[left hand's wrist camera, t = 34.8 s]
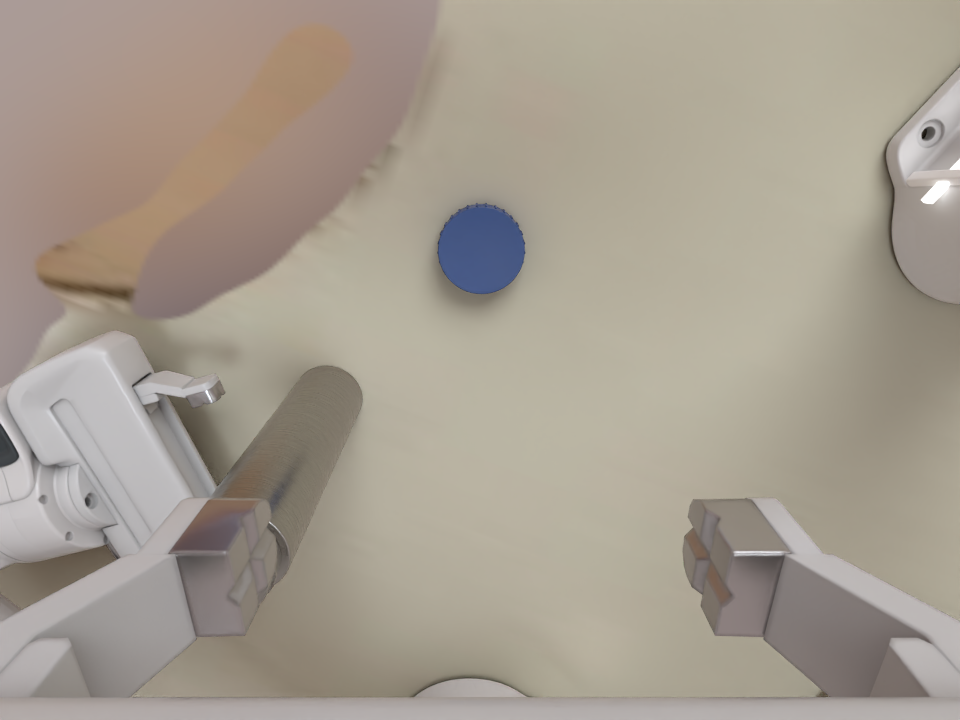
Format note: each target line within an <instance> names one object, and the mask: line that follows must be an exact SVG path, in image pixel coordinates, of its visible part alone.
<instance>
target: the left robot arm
mask: <svg viewBox="0 0 960 720" xmlns="http://www.w3.org/2000/svg"><path fill="white" fill-rule="evenodd" d="M925 128H926V130H927V134H926V136H925V138H924V139H922V137H921V134H922V132H923V130H924V129H925ZM886 161H887V166H888V170H889V174H890V177H891V180H892V183H893V186H894V188H895V200H894V209H893V217H892V243H893V249H894V253H895V256H896V259H897V262H898V264H899V266H900V268H901V270H902V272H903V273H904V275H905V276H906V277H907V279H908V280H909V281H910V282H911V283H912V284H913V285H914V286H915V287H916V288H917V289H919V290H920V291H921V292H923V293H924V294H926V295H928V296H930V297H932V298H934V299H937V300H939V301H943V302H947V303H952V304H960V67H959V68H958V69H957V70H956V71H955V72H954V73H953V74H952V75H951V76H950V77H949V78H948V79H947V80H946V81H945V83H944V84H943V85H942V86H941V87H940V88H939V89H938V90H937V91H936V92H935V93H934V94H933V95H932V96H931V97H930V98H929V100H928V101H927V102H926V103H925V104H924V105H923V106H922V107H921V108H920V109H919V110H918V111H917V112H916V113H915V114H914V115H913V116H912V118H911V119H910V120H909V121H908V122H907V123H906V124H905V125H904V126H903V127H902V128H901V129H900V130H899V131H898V132H897V133H896V135H895V136H894V137H893V138H892V139H891V141H890V143H889V144H888V147H887V150H886ZM271 518H272V514H271V509H270V504H269V502H268V501H267V500H266V499H257V498H186V499H183V500H181V501H180V502H179V504H178V505H177V506H176V507H175V508H174V510H173V511H172V512H171V513H170V514H169V516H168V517H167V518H166V519H165V520H164V521H163V523H162V524H161V525H160V526H159V527H158V529H157V530H156V531H155V532H154V533H153V535H152V536H151V537H150V538H149V539H148V541H147V542H146V543H145V544H144V545H143V546H142V548H141V549H140V550H139V551H138V552H137V554H127V555H125V556H123V557H121V558H119V559H117V560H115V561H114V562H112V563H110V564H108V565H106V566H104V567H102V568H100V569H98V570H96V571H95V572H93V573H91V574H89V575H87V576H85V577H83V578H81V579H79V580H77V581H75V582H74V583H72V584H70V585H68V586H66V587H64V588H62V589H60V590H58V591H56V592H55V593H53V594H51V595H49V596H47V597H45V598H43V599H41V600H39V601H37V602H35V603H34V604H32V605H30V606H28V607H26V608H24V609H22V610H20V611H18V612H16V613H15V614H13V615H11V616H9V617H7V618H5V619H3V620H1V621H0V720H960V621H958V620H957V619H955V618H953V617H951V616H949V615H947V614H945V613H943V612H941V611H939V610H938V609H936V608H934V607H932V606H930V605H928V604H926V603H924V602H922V601H920V600H919V599H917V598H915V597H913V596H911V595H909V594H907V593H905V592H903V591H901V590H900V589H898V588H896V587H894V586H892V585H890V584H888V583H886V582H884V581H882V580H881V579H879V578H877V577H875V576H873V575H871V574H869V573H867V572H865V571H863V570H862V569H860V568H858V567H856V566H854V565H852V564H850V563H848V562H846V561H844V560H843V559H841V558H839V557H837V556H835V555H833V554H823V552H822V551H821V550H820V549H819V548H818V546H817V545H816V544H815V543H814V542H813V541H812V539H811V538H810V537H809V536H808V535H807V533H806V532H805V531H804V530H803V529H802V527H801V526H800V525H799V524H798V523H797V522H796V520H795V519H794V518H793V517H792V516H791V514H790V513H789V512H788V511H787V510H786V509H785V507H784V506H783V505H782V504H781V503H780V501H779V500H777V499H775V498H773V497H761V498H746V499H693V501H692V503H691V505H690V508H689V513H688V518H689V520H690V522H691V524H692V526H693V528H692V529H691V530H690V531H689V532H688V533H687V534H686V535H685V537H684V544H683V561H684V568H685V571H686V575H687V578H688V580H689V582H690V584H691V586H692V588H694V589H695V590H697V591H698V592H699V593H701V594H702V595H703V596H702V601H701V608H702V610H703V612H704V614H705V616H706V618H707V620H708V622H709V624H710V626H711V628H712V630H713V632H714V634H715V636H747V637H764V640H765V641H766V642H767V643H768V644H769V645H771V646H772V647H773V648H774V649H775V650H776V651H778V652H779V653H780V654H781V655H782V656H783V657H784V658H786V659H787V660H788V661H789V662H790V663H791V664H793V665H794V666H795V667H796V668H797V669H798V670H800V671H801V672H802V673H803V674H804V675H805V676H806V677H808V678H809V679H810V680H811V681H812V682H813V683H815V684H816V685H817V686H818V687H819V688H820V689H821V690H823V691H824V692H825V693H826V694H827V695H828V696H830V697H131V696H132V695H133V694H134V693H135V692H136V691H138V690H139V689H140V688H141V687H142V686H143V685H144V684H146V683H147V682H148V681H149V680H150V679H151V678H153V677H154V676H155V675H156V674H157V673H158V672H160V671H161V670H162V669H163V668H164V667H165V666H166V665H168V664H169V663H170V662H171V661H172V660H173V659H175V658H176V657H177V656H178V655H179V654H180V653H182V652H183V651H184V650H185V649H186V648H187V647H188V646H190V645H191V644H192V643H193V642H194V641H195V640H196V637H212V636H245V634H246V632H247V630H248V628H249V626H250V624H251V622H252V620H253V618H254V616H255V614H256V612H257V610H258V608H259V601H258V596H257V595H258V594H259V593H261V592H262V591H263V590H265V589H266V588H268V586H269V584H270V582H271V580H272V578H273V575H274V571H275V566H276V562H277V543H276V537H275V535H274V534H273V533H272V532H271V531H270V530H269V529H268V528H267V526H268V524H269V522H270V520H271Z"/></svg>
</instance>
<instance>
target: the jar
mask: <svg viewBox="0 0 960 720" xmlns="http://www.w3.org/2000/svg"><path fill="white" fill-rule="evenodd" d="M361 406H362V393H361V389H360V387H359V385H358V383H357V382H356V380H355V379H354V378H353V377H352V376H351V375H350V374H348V373H347V372H345V371H343V370H341V369H339V368H336V367H331V366H321V367H316V368H313V369H311V370H309V371H307V372H306V373H305V374H304V375H303V376H302V377H301V378H300V379H299V381H298V382H297V383H296V385H295V386H294V387H293V388H292V390H291V391H290V392H289V394H288V395H287V396H286V398H285V399H284V400H283V402H282V403H281V404H280V406H279V407H278V408H277V409H276V411H275V412H274V413H273V415H272V416H271V417H270V419H269V420H268V421H267V423H266V424H265V425H264V427H263V428H262V429H261V430H260V432H259V433H258V434H257V436H256V437H255V438H254V440H253V441H252V442H251V444H250V445H249V446H248V448H247V449H246V450H245V452H244V453H243V454H242V455H241V457H240V458H239V459H238V461H237V462H236V463H235V465H234V466H233V467H232V469H231V470H230V471H229V473H228V474H227V475H226V476H225V478H224V479H223V480H222V482H221V483H220V484H219V486H218V487H217V488H216V490H215V491H214V492H213V494H212V495H211V496H210V497H209V498H257V499H266V500H267V501H268V502H269V504H270V509H271V514H272V518H271V520H270V522H269V524H268V526H267V528H268V529H269V530H270V531H271V532H272V533H273V534H274V535H275V537H276V543H277V562H276V566H275V571H274V575H273V578H272V580H271V582H270V584H269V586H268V588H266V589H265V590H263V591H262V592H261V593H259V594H258V595H257V596H258V601H259V604H260V603H261V602H262V601H263V600H264V598H265V597H266V595H267V593H269V592H270V590H271V589H272V587H273V585H275V584H276V583H278V582H279V581H280V580H281V579H282V578H283V577H284V576H285V574H286V573H287V571H288V569H289V567H290V565H291V562H292V560H293V558H294V556H295V554H296V551H297V549H298V547H299V545H300V542H301V540H302V538H303V536H304V533H305V531H306V529H307V527H308V525H309V522H310V520H311V518H312V516H313V513H314V511H315V509H316V507H317V505H318V502H319V500H320V498H321V496H322V493H323V491H324V489H325V487H326V485H327V482H328V480H329V478H330V476H331V473H332V471H333V469H334V467H335V464H336V462H337V460H338V458H339V456H340V453H341V451H342V449H343V447H344V444H345V442H346V440H347V438H348V436H349V433H350V431H351V429H352V427H353V424H354V422H355V420H356V418H357V416H358V413H359V411H360V409H361Z"/></svg>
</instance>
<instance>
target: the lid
mask: <svg viewBox="0 0 960 720" xmlns="http://www.w3.org/2000/svg"><path fill="white" fill-rule="evenodd" d="M444 226H445V227H444V229H443V230H442V231H441V233H440V235H441V237H440V239H439V241H438V244H439V246H438V255H439V263H440V265H441V267H442V269H443V271H444V273H445V275H446V276H447V277H448V279H449V280H450V281H451V282H452V283H453V284H455V285H456V286H457V287H459V288H460V289H462V290H465V291H467V292H470V293H476V294H488V293H492V292H495V291H498V290H500V289H502V288H504V287H505V286H507V285H508V284H509V283H511V282H512V281H513V280H514V278H515V277H516V276H517V274H518V273H519V271H520V269H521V267H522V264H523V260H524V254H525V247H524V244H525V242H524V240H523V237H522V235H523V234H522V231H520V230H519V228H518V227H519V225H518V223H517V222H515V221H514V220H513V218H512V216H511V215H509V214H507V213H506V212H505V210H504V209H503V210H502V209H500V208H498V207H496V205H495V206H492V205H487V203H485V204H478V203H476V205H471V206H468V205H467V207H465V208H463V209H461V210H460V209H459V210H458V212H457V213H455V214H454V215H451V217H450V219H449V221H448V222H446V223H445V225H444Z"/></svg>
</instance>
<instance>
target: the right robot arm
mask: <svg viewBox="0 0 960 720" xmlns="http://www.w3.org/2000/svg"><path fill="white" fill-rule="evenodd" d="M224 394H225V390H224V388H223V386H222V384H221V382H220V380H219V378H218V376H217V374H211V375H207V376H203V377H200V378H196V379H195V378H194V377H191V376H187V375H183V374H180V373H176V372H172V371H168V370H165V371H161V372H158V373H155V372H154V370H153V368H152V366H151V365H150V363H149V361H148V359H147V357H146V355H145V354H144V352H143V350H142V348H141V346H140V344H139V342H138V341H137V339H136V338H135V337H134V336H132V335H130V334H127V333H124V332H121V331H118V330H113V331H110V332H106V333H104V334H101V335H98V336H96V337H93V338H91V339H88V340H86V341H84V342H82V343H80V344H78V345H76V346H74V347H71V348H69V349H67V350H65V351H63V352H61V353H59V354H57V355H55V356H53V357H52V358H50V359H48V360H46V361H44V362H42V363H40V364H39V365H37V366H35V367H33V368H31V369H29V370H28V371H26V372H24V373H22V374H21V375H20V376H18V377H17V378H16V379H15V380H14V381H12V382H10V383H8V384H6V385H4V386H3V387H1V388H0V570H2V569H5V568H7V567H8V566H10V565H12V564H14V563H33V562H40V561H44V560H48V559H52V558H56V557H60V556H64V555H68V554H72V553H76V552H80V551H85V550H89V549H93V548H97V547H100V546H104V545H106V546H107V547H108V549H109V550H110V552H111V553H112V555H113V556H114V557H115V559H116V560H117V559H119V558H121V557H123V556H125V555H127V554H137V552H138V551H139V550H140V549H141V548H142V546H143V545H144V544H145V543H146V542H147V541H148V539H149V538H150V537H151V536H152V535H153V533H154V532H155V531H156V530H157V529H158V527H159V526H160V525H161V524H162V523H163V521H164V520H165V519H166V518H167V517H168V516H169V514H170V513H171V512H172V511H173V510H174V508H175V507H176V506H177V505H178V504H179V502H180V501H181V500H183V499H186V498H209V497H210V496H211V495H212V494H213V492H214V491H215V490H216V488H217V485H216V484H215V482H214V480H213V478H212V476H211V474H210V473H209V471H208V469H207V467H206V465H205V463H204V462H203V460H202V458H201V456H200V454H199V452H198V451H197V449H196V447H195V445H194V443H193V442H192V440H191V438H190V436H189V434H188V432H187V431H186V429H185V427H184V425H183V423H182V421H181V420H180V418H179V416H178V414H177V412H176V410H175V409H174V407H173V405H172V403H171V401H170V399H169V398H168V396H167V395H171V396H177V397H182V398H187V399H188V401H189V403H190V405H191V406H192V408H195V407H199V406H202V405H203V404H204V403H205V404H210V403H213V402H215V401H217V400H219V399H220V398H221V395H224ZM20 610H21V609H20V608H19V607H18V606H16V605H15V604H14V603H13V602H11V601H10V600H9V599H7V598H6V597H5V596H4V595H2V594H1V593H0V621H1V620H3V619H5V618H7V617H9V616H11V615H13V614H15V613H16V612H18V611H20ZM415 697H527V696H525V695H523V694H522V693H520V692H518V691H517V690H515V689H513V688H511V687H509V686H507V685H504V684H501V683H498V682H495V681H491V680H485V679H476V678H464V679H454V680H449V681H444V682H441V683H438V684H435V685H433V686H430V687H428V688H426V689H425V690H423V691H421V692H420V693H418V694H417V695H416V696H415Z"/></svg>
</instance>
